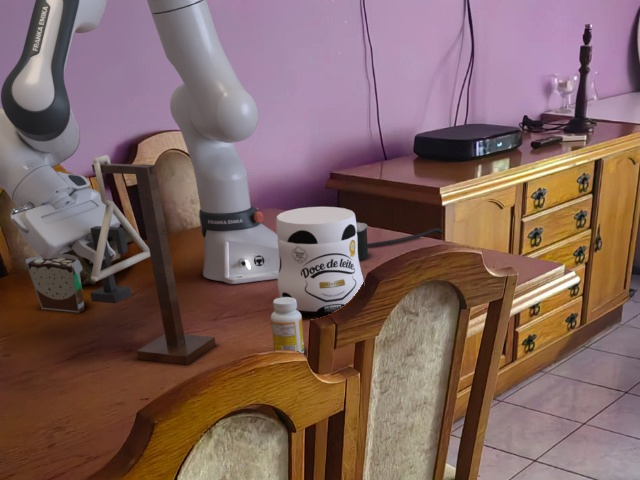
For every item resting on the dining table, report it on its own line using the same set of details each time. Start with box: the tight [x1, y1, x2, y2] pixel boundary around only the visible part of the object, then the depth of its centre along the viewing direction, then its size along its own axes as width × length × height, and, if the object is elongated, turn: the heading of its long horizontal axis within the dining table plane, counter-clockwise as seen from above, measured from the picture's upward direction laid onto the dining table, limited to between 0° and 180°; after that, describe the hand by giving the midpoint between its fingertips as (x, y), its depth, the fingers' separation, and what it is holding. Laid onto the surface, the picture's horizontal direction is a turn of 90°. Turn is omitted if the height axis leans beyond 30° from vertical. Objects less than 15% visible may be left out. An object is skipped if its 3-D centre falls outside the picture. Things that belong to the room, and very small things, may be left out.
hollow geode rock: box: [63, 226, 134, 286], centre depth 193 cm, size 28×13×15 cm
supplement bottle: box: [270, 297, 305, 354], centre depth 147 cm, size 5×5×10 cm
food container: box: [24, 254, 85, 314], centre depth 172 cm, size 12×6×10 cm, turn 71°
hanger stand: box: [91, 154, 217, 366], centre depth 143 cm, size 14×17×32 cm
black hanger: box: [89, 226, 133, 304], centre depth 146 cm, size 7×5×12 cm
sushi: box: [356, 221, 369, 262], centre depth 201 cm, size 8×8×8 cm
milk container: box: [275, 206, 365, 316], centre depth 166 cm, size 17×17×18 cm
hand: (107, 260), depth 146 cm, fingers closed on black hanger
